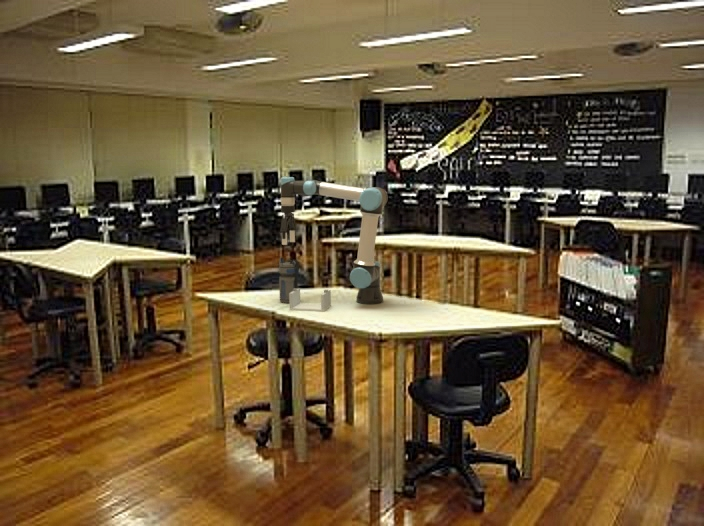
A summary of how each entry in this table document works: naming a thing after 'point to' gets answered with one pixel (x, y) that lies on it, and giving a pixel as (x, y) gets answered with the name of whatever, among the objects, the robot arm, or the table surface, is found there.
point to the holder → (296, 305)
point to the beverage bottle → (287, 278)
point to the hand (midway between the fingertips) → (288, 243)
